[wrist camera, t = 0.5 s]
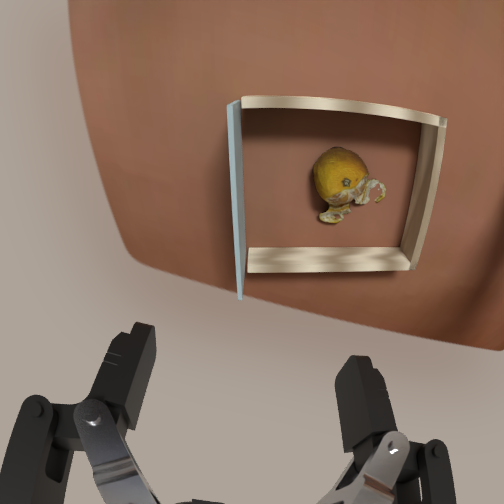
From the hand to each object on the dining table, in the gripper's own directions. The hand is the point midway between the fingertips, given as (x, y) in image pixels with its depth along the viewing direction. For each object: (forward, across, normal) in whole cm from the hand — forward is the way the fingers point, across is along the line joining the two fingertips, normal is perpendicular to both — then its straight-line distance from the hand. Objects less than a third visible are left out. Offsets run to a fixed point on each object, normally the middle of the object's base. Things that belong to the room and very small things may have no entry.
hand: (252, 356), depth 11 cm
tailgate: (+21, +2, +1) cm, 21 cm away
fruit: (+22, -9, -1) cm, 24 cm away
